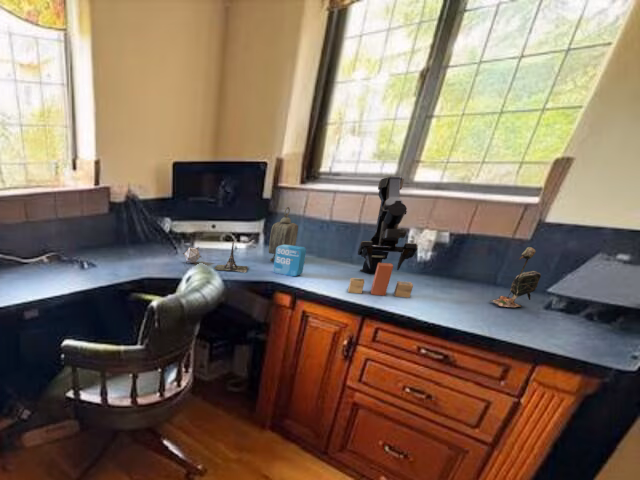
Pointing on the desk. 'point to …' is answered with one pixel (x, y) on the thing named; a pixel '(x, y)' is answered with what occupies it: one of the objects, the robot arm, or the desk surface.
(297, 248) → the data package
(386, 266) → the orange rectangular block
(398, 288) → the maple cube
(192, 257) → the game die
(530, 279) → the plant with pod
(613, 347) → the desk surface
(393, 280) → the desk surface
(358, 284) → the maple cube
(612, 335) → the desk surface
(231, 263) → the eiffel tower figurine
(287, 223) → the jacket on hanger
